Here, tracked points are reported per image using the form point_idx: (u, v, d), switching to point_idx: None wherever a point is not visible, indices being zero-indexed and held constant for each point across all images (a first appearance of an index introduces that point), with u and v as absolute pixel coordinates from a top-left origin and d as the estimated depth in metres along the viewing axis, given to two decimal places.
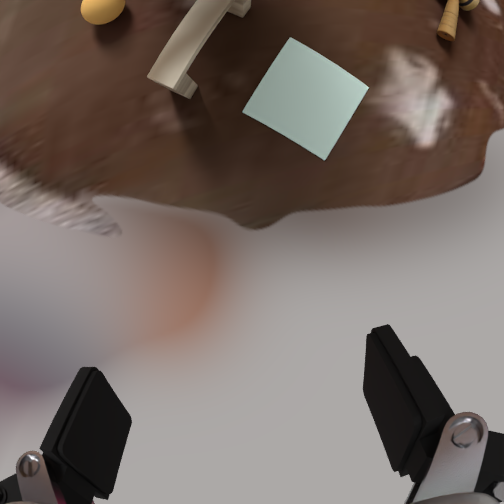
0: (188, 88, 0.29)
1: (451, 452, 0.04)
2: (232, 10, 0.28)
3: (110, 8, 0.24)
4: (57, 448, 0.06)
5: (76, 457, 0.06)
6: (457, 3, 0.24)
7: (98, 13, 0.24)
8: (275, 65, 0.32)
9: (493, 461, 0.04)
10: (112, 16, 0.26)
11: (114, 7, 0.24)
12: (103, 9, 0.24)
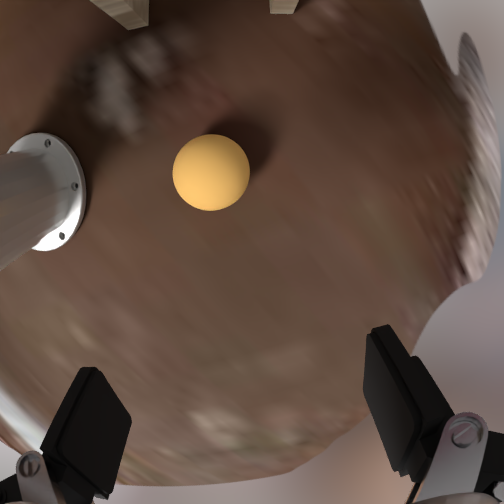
0: None
1: (451, 452, 0.04)
2: (145, 7, 0.19)
3: (215, 139, 0.21)
4: (57, 448, 0.06)
5: (76, 457, 0.06)
6: None
7: (231, 153, 0.21)
8: None
9: (493, 461, 0.04)
10: (226, 137, 0.22)
11: (211, 136, 0.21)
12: (223, 147, 0.20)
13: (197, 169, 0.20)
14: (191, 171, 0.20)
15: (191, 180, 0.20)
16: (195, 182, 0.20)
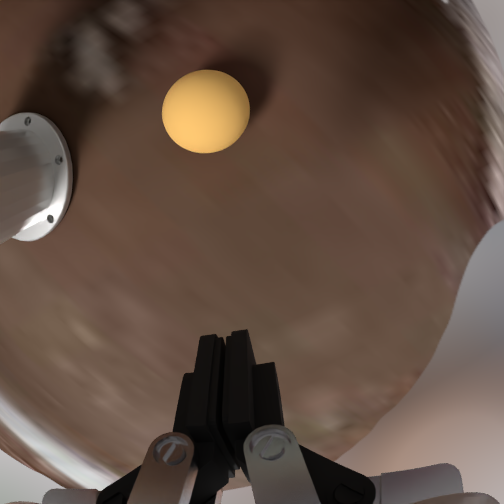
0: None
1: (265, 468, 0.05)
2: None
3: (206, 71, 0.17)
4: (207, 421, 0.07)
5: (222, 429, 0.07)
6: None
7: (226, 81, 0.17)
8: None
9: None
10: None
11: (201, 70, 0.17)
12: (215, 76, 0.16)
13: (189, 100, 0.16)
14: (182, 104, 0.16)
15: (183, 114, 0.17)
16: (188, 115, 0.17)
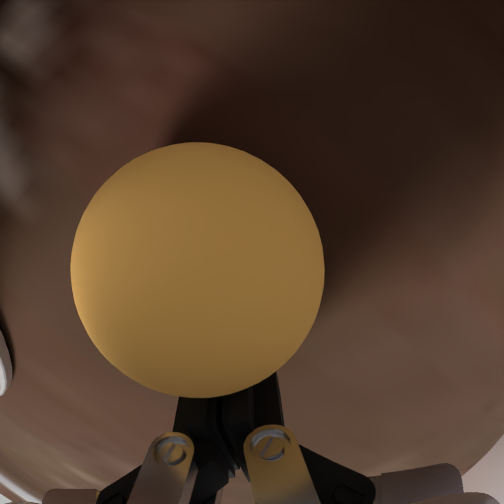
0: None
1: (265, 468, 0.05)
2: None
3: (174, 164, 0.05)
4: (207, 421, 0.07)
5: (222, 429, 0.07)
6: None
7: (253, 208, 0.05)
8: None
9: None
10: (218, 144, 0.06)
11: (160, 154, 0.05)
12: (210, 192, 0.05)
13: (122, 319, 0.04)
14: (106, 324, 0.05)
15: (120, 356, 0.05)
16: (134, 362, 0.05)
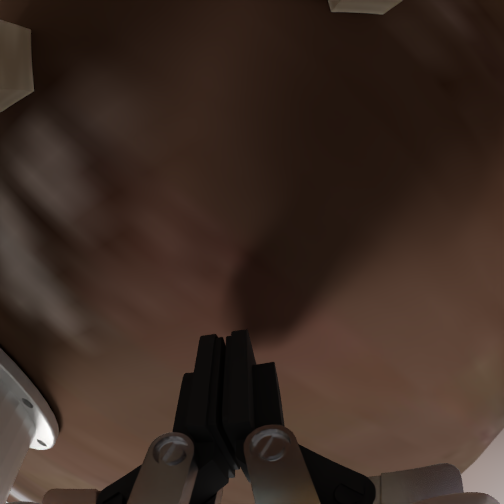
0: None
1: (265, 468, 0.05)
2: (14, 53, 0.06)
3: None
4: (207, 421, 0.07)
5: (222, 429, 0.07)
6: None
7: None
8: None
9: None
10: None
11: None
12: None
13: None
14: None
15: None
16: None
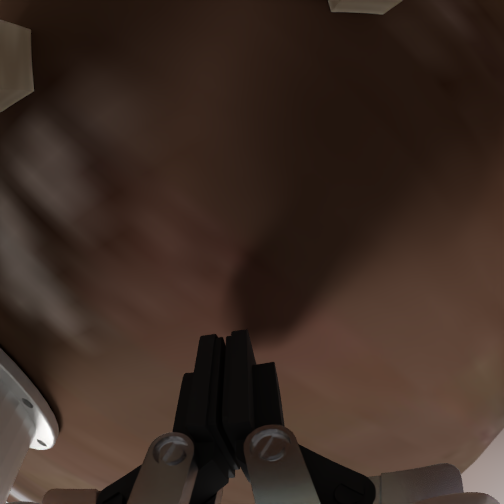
0: None
1: (265, 468, 0.05)
2: (14, 53, 0.06)
3: None
4: (207, 421, 0.07)
5: (222, 429, 0.07)
6: None
7: None
8: None
9: None
10: None
11: None
12: None
13: None
14: None
15: None
16: None
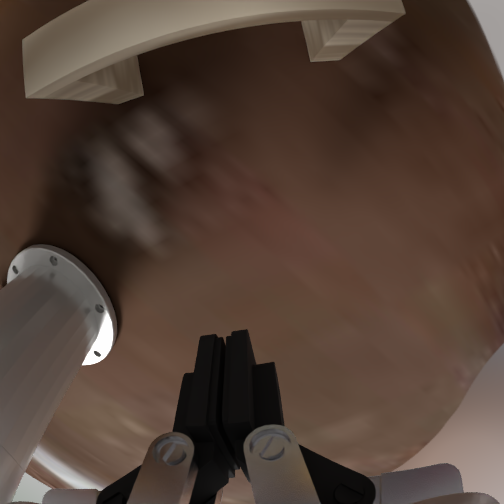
0: None
1: (265, 468, 0.05)
2: (134, 71, 0.16)
3: None
4: (207, 421, 0.07)
5: (222, 429, 0.07)
6: None
7: None
8: None
9: None
10: None
11: None
12: None
13: None
14: None
15: None
16: None
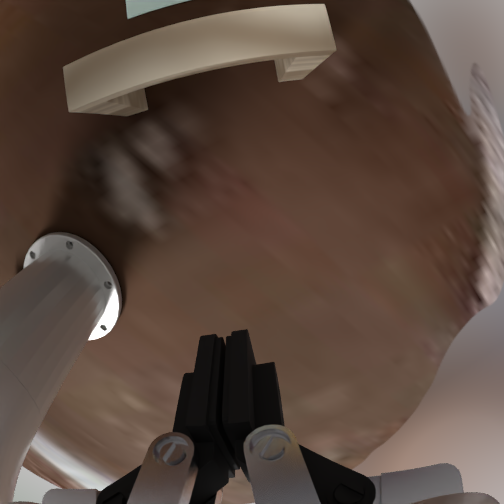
0: None
1: (265, 468, 0.05)
2: (140, 91, 0.21)
3: None
4: (208, 421, 0.07)
5: (222, 429, 0.07)
6: None
7: None
8: None
9: None
10: None
11: None
12: None
13: None
14: None
15: None
16: None
